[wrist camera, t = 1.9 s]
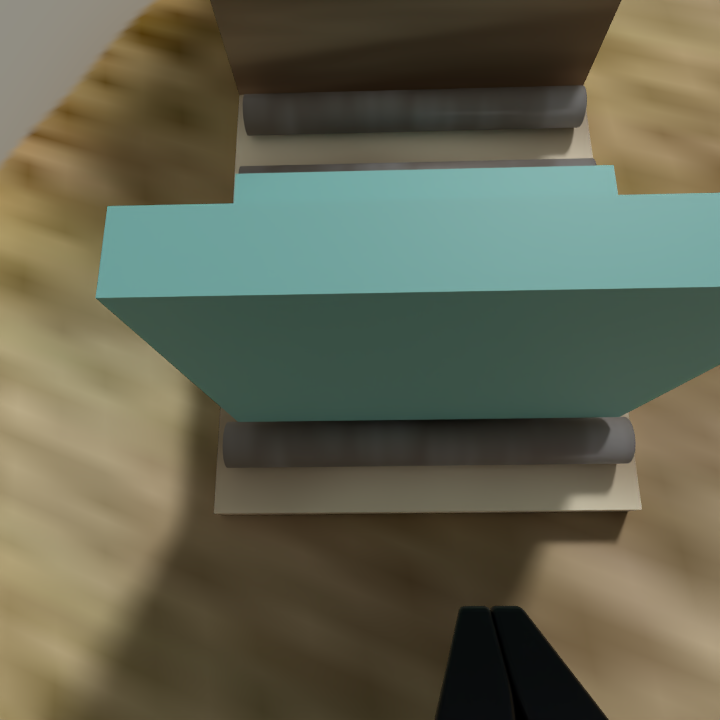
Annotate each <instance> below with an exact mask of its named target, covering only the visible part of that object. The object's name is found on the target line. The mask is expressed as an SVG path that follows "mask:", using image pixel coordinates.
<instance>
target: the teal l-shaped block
mask: <svg viewBox="0 0 720 720" xmlns="http://www.w3.org/2000/svg"><path fill="white" fill-rule="evenodd" d="M96 299H97V300H99V301H100V302H101V303H102V304H103V305H104V306H105V307H107V308H108V309H109V310H110V311H111V312H112V313H113V314H115V315H116V316H117V317H118V318H119V319H120V320H122V321H123V322H124V323H125V324H126V325H127V326H128V327H130V328H131V329H132V330H133V331H134V332H135V333H136V334H138V335H139V336H140V337H141V338H142V339H143V340H145V341H146V342H147V343H148V344H149V345H150V346H151V347H153V348H154V349H155V350H156V351H157V352H158V353H159V354H161V355H162V356H163V357H164V358H165V359H166V360H167V361H169V362H170V363H171V364H172V365H173V366H174V367H176V368H177V369H178V370H179V371H180V372H181V373H182V374H184V375H185V376H186V377H187V378H188V379H189V380H190V381H192V382H193V383H194V384H195V385H196V386H197V387H199V388H200V389H201V390H202V391H203V392H204V393H205V394H207V395H208V396H209V397H210V398H211V399H212V400H213V401H215V402H216V403H217V404H218V405H219V406H220V407H221V408H223V409H224V410H225V411H226V412H227V413H228V414H230V415H231V416H232V417H233V418H234V419H235V420H236V421H238V422H277V421H356V420H434V419H512V418H590V417H620V416H622V415H624V414H626V413H628V412H630V411H632V410H634V409H636V408H638V407H639V406H641V405H643V404H645V403H647V402H649V401H651V400H653V399H655V398H657V397H659V396H660V395H662V394H664V393H666V392H668V391H670V390H672V389H674V388H676V387H678V386H680V385H682V384H683V383H685V382H687V381H689V380H691V379H693V378H695V377H697V376H699V375H701V374H703V373H705V372H706V371H708V370H710V369H712V368H714V367H716V366H718V365H720V193H691V194H644V195H618V192H617V185H616V178H615V172H614V165H598V166H554V167H511V168H467V169H423V170H379V171H336V172H292V173H248V174H235V188H234V203H229V204H183V205H137V206H107V214H106V222H105V229H104V237H103V245H102V253H101V260H100V268H99V276H98V283H97V291H96Z"/></svg>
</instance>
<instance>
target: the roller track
mask: <svg viewBox="0 0 720 720" xmlns="http://www.w3.org/2000/svg"><path fill="white" fill-rule="evenodd" d="M210 1H211V4H212V8H213V11H214V14H215V17H216V21H217V24H218V27H219V30H220V34H221V37H222V40H223V43H224V47H225V50H226V53H227V56H228V60H229V63H230V66H231V69H232V73H233V76H234V79H235V82H236V85H237V89H238V92H239V110H238V126H237V143H236V159H235V174H248V173H292V172H336V171H379V170H423V169H467V168H511V167H554V166H597V165H596V162H595V160H594V159H593V155H592V148H591V141H590V134H589V127H588V119H587V112H586V105H587V94H586V89H585V87H584V86H583V85H584V82H585V80H586V78H587V76H588V73H589V71H590V69H591V67H592V64H593V62H594V60H595V58H596V56H597V53H598V51H599V49H600V47H601V44H602V42H603V40H604V38H605V36H606V33H607V31H608V29H609V27H610V24H611V22H612V20H613V18H614V16H615V13H616V11H617V9H618V7H619V4H620V2H621V0H210ZM234 188H235V175H234ZM233 203H234V192H233ZM634 453H635V434H634V430H633V426H632V424H631V422H630V420H629V413H626V414H624V415H622V416H620V417H590V418H512V419H434V420H356V421H277V422H238V421H236V420H235V419H234V418H233V417H232V416H231V415H230V414H228V413H227V412H226V411H225V410H224V409H223V408H221V407H220V421H219V437H218V453H217V470H216V486H215V502H214V514H220V515H264V514H374V513H485V512H596V511H634V510H642V506H641V499H640V492H639V485H638V478H637V471H636V463H635V456H634Z"/></svg>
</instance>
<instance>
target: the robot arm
mask: <svg viewBox="0 0 720 720" xmlns="http://www.w3.org/2000/svg"><path fill="white" fill-rule="evenodd" d="M435 720H609V719H608V718H607V717H606V716H605V714H604V713H603V712H602V710H601V709H600V708H599V706H598V705H597V704H596V703H595V701H594V700H593V699H592V697H591V696H590V695H589V694H588V692H587V691H586V690H585V688H584V687H583V686H582V685H581V683H580V682H579V681H578V679H577V678H576V677H575V676H574V674H573V673H572V672H571V670H570V669H569V668H568V667H567V665H566V664H565V663H564V661H563V660H562V659H561V658H560V656H559V655H558V654H557V652H556V651H555V650H554V649H553V647H552V646H551V645H550V643H549V642H548V641H547V639H546V638H545V637H544V636H543V634H542V633H541V632H540V630H539V629H538V628H537V627H536V625H535V624H534V623H533V621H532V620H531V619H530V618H529V616H528V615H527V614H526V612H525V611H524V610H523V609H522V608H520V607H518V606H494V607H492V608H491V609H490V610H489V608H488V607H486V606H463V607H461V608H460V609H459V613H458V617H457V621H456V626H455V630H454V635H453V639H452V644H451V648H450V653H449V657H448V662H447V666H446V671H445V675H444V680H443V684H442V689H441V693H440V698H439V702H438V707H437V711H436V716H435Z"/></svg>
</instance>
